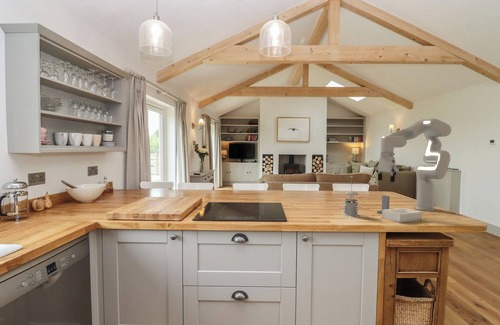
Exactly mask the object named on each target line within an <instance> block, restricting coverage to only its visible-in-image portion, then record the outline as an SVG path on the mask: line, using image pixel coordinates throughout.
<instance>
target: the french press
mask: <svg viewBox="0 0 500 325" xmlns="http://www.w3.org/2000/svg"><path fill="white" fill-rule="evenodd" d="M349 178H351V179H350V180H351V183H350V188H351V189H350V190H348V191H345V192H344V194H345V195H347V196H350V197H352V198H345V201H344V205H343V206H344V208H343V211H344V212H343V213H342V215H343V216H344V215H345V216H344V217H349V216H351V217H352V218H357V216H358V217H360V215H359V213H358V211H359V210H358V206H359V205H358V204H359V202H357V201H358V200H357V199H355V196H358V195H359V193H358V192H356V191H354V190H353V189H352V186H353V185H352V184H353V183H352V181H353V178H354V176H353V175H350V176H349ZM351 217H350V218H351Z"/></svg>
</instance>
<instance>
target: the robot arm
mask: <svg viewBox="0 0 500 325" xmlns="http://www.w3.org/2000/svg"><path fill="white" fill-rule="evenodd" d="M451 132H452V127H451V126H450V124H448V123H447V122H445V121H443V120H440V119H438V118H433V117H432V118H426V119H425V118H424V119H420V120H418V121H416V122H414V123H413V124H411V125H409V126H407V127H405V128H402V129H399V130H397V131H395V132H392V133H390V134H388V135H384V136H381V140H380V157H379V160H378V165H377V166H376V167H374V169H375V171H376V172H375V173H376V174H377V181H383V173H389V174H390V178H389V179H390V183H395V182H396V176H397V174H398V172H399V171H400V169H399V168H398V167H397V165H396V163H397V162H396V158H395V149H396V148H400V149H401V148H403V147H405V146H406V145H407V143H408V140H412V139H415V138H417V137H418V136H420V135H421V134H423V136H424V137H425V139H426V146H425V147H426V148H425V150H424V153H423V156H422V160H423V162H424V163H426V164H420V165H418V166H417V167H416V169H415V174H416V179H417V180H416V182H417V185H416V186H417V187H416V188H417V189H416V205H415V206H413V209H415V210H416V211H422V212H423V211H425V212H434V211H436V208H435V207H436V206H437V203H434V188H435V187H434V185H435V184H434V182H433V180H442V179H444V177H445V176H446V175H447V171H448V168H449V166H450V162H451V154H450V152H449V151H447V150H443V149H442V142H441V140H440V139H439V138H440V137H448V136H449V135H451Z"/></svg>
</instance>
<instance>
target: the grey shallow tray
mask: <svg viewBox="0 0 500 325" xmlns="http://www.w3.org/2000/svg"><path fill="white" fill-rule="evenodd" d="M381 210H382V209H381ZM422 217H423V211H421V210H417V209H415V210H414V209H411V208H407V207H397V208H389V209H385V210H382V214H381V218H382V219H384V220H388V221H391V222H395V223H398V224H403V223H410V222H411V223H412V222H418V221H419V222H420V221H422V220H423V218H422Z"/></svg>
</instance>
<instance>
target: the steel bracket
mask: <svg viewBox="0 0 500 325" xmlns="http://www.w3.org/2000/svg"><path fill="white" fill-rule="evenodd" d="M385 209H390V196H389V195H387V194H386V195H381V210H377V211H376V213H377V214H379V215H382V210H385Z"/></svg>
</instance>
